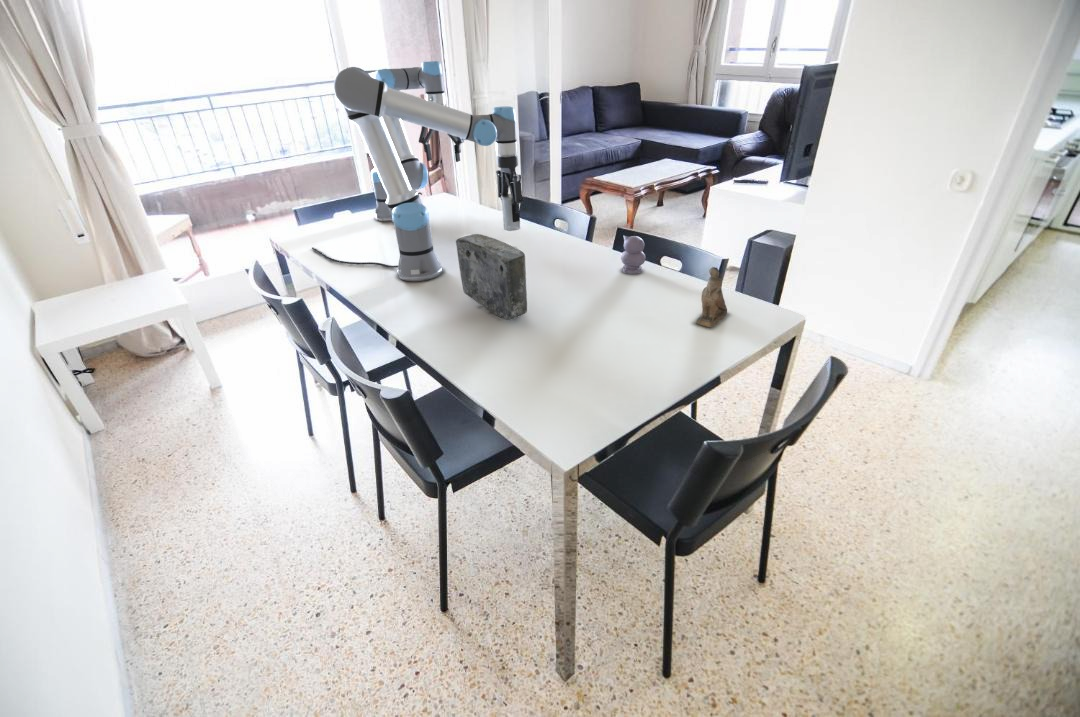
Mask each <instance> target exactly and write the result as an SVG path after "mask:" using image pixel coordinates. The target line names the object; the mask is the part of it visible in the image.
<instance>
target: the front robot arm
mask: <svg viewBox="0 0 1080 717" xmlns="http://www.w3.org/2000/svg"><path fill="white" fill-rule="evenodd" d="M366 71H367V70H364V69H362V68H360V67H357V66H350V67H346V68H343V69H341V70H340V71H339V72H338V73H337V74H336V76H335V77H334V82H333V91H334V95H335V98H336V99H337V101H338V103H339V104H341V105H342V107H343V109H344V112H345V114H346V116H347V118H348V121H349V122H350V123H352V124H354V125H356V127H357V129H358V131H359V134H360V136H361V138H362V140H363V143H364V145H365V147H366V150H367V151H368V154H369V156H370V158H371V161H372V164H373V166H374V168H376V170H377V172H378V174H379V177H380V179H381V181H382V184H383V186H384V188H385V190H386V193H387V195H388V199H387V201H386V203H387V206H388V208H389V210H390V212H391V215H392V219H393V221H392V222H393V225H394V230H395V231H394V232H395V236H396V241H397V247H398V251H399V259H398V265H389V264H385V263H381V262H373V261H368V262H366V261H365V262H360V261H359V262H357V261H345V260H339V259H335V258H332V257H330V256H328V255H326V254H325V253H324V252H322V251H321V250H319V249H317V248H315V247H314V246H313V247H311V250H313V251H315V252H317V253H319V254H320V255H322V256H323V257H324V258H326V259H328V260H330V261H333V262H335V263H339V264H347V265H375V266H382V267H385V268H391V269H396V268H397V276H398V278H399V279H400V280H402V281H406V282H413V283H414V282H425V281H429V280H432V279H435V278H438V277H439V276H440V275H441V274H442V273H443V268H442V264H441V263H440V260H439V259H438V256H437V254H436V252H435V250H434V243H433V236H432V230H431V224H430V213H429V212H428V208H427V207H426V206H425V205H424V204H423V202H422V199H421V197H420V194H418V193H419V192H418V190H414V189H412V188H411V186H410V184H409V181H408V179H407V176H406V174H405V171H404V169H403V167H402V164H401V162H400V159H399V157H398V154H397V152H396V149H395V147H394V145H393V142H392V140H391V137H390V135H389V132H388V130H387V127H386V125H385V123H384V120H383V118H382V116H383V115H387V116H391V117H394V118H397V119H401V120H402V121H404V122H407V123H411V124H413V125H414V124H415V125H418V126H421V127H422V126H424V127H427V129H434V130H437V131H436V132H441V133H443V134H447V135H448V134H450V135H453V136H457V137H460V138H462V139H463V140H464V141H469V142H473V143H475V144H477V145H479V146H483V147H489V146H491V145H492V144H494V143H495V152H496V166H497V167H498V168H500V169H499V170H496V171H495V173H496V180H497V183H496V184H497V197H498V198H499V199H500V200H501V201H502V197H501V196H502V195H504V194H509V192H510V194H511V197H512V201H513V203H512V217H513V222H518V221H520V222H521V218H520V204H522V203H523V201H524V200H523V191H522V175H521V174H517V171H516V170H517V169H516V168H517V167H518V166H519V156H518V155H517V154H518V142H517V120H516V119H517V118H516V111H515V108H514V107H513V106H510V105H509V106H505V105H504V106H495V107H493V108H492V113H490V114H471V113H468V112H464V111H462V110H458V109H455V108H452V107H449V106H446V105H445V104H444V105H445V106H444V105H441V104H438V103H434V102H431V101H428V100H427V99H426V98H422V97H419V96H416V95H413V94H410V93H407V92H404V91H402V90H400V91H398V90H395V89H392V88H389V87H388V86H387V84H386V83H385V82H382V81H379V80H377V79H374V78H372V77H371V76H370V75H369V74H368V73H367V72H366Z"/></svg>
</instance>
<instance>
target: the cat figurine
mask: <svg viewBox="0 0 1080 717" xmlns="http://www.w3.org/2000/svg"><path fill="white" fill-rule="evenodd" d="M623 249H624V250H623V252H622V253H621V255H620V260H621V262H622V264H623V265H622V273H624V274H628V275H637V274H640V273H642V265H644V264H645V262H646V254H645V253H644V252H643V251H644V249H645V242H644V239H642V238H641V236H637V235H631V236H627V235H624V234H623Z"/></svg>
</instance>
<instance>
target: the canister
mask: <svg viewBox="0 0 1080 717" xmlns="http://www.w3.org/2000/svg"><path fill="white" fill-rule="evenodd" d="M501 197H502V200H501V207H502V221H503V230H504V231H507V232H515V231H519V230H521V220H520V221H518V222H513V217H512V203H513V201H512V197H511V193H508V194H504V195H502V196H501Z"/></svg>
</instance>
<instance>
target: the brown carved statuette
mask: <svg viewBox="0 0 1080 717" xmlns="http://www.w3.org/2000/svg"><path fill="white" fill-rule="evenodd" d="M708 273H709V275H710V276H709V278H708V279H707V280H708V281H707V284H706V286H705V287H704V288H703V290H702V292H701V297H700V298H701V309H702V312H701V315H700V316H699V317H698V318H697V319H696V321H695V324H696V325H699V326H703V327H705V328H712V327H714V326H715V325H716V324H717V323H719V321H721V320H722V319H723V318H725V317H726V316H727V315H728V307H727V304H726V301H725V298H724V293H723V290H722V287H723V281H722V279H721V278H720V270H719V269H718V268H717V267H715V266H712V267H711V268H710V269H709V270H708Z"/></svg>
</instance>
